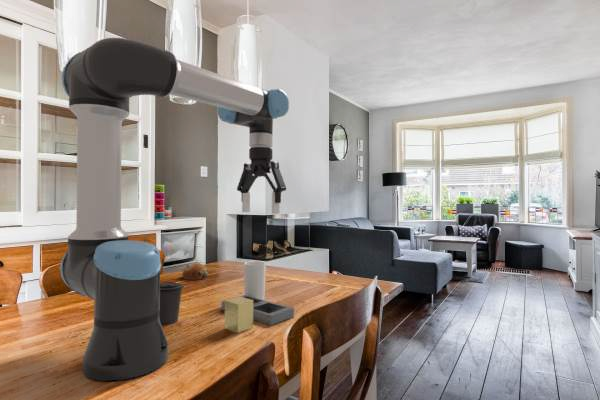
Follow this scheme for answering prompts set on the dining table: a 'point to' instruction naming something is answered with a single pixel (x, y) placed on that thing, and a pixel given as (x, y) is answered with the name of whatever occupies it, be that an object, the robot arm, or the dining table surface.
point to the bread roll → (195, 272)
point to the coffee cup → (169, 302)
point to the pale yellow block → (238, 314)
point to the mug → (254, 279)
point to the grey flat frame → (263, 306)
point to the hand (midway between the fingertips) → (260, 213)
